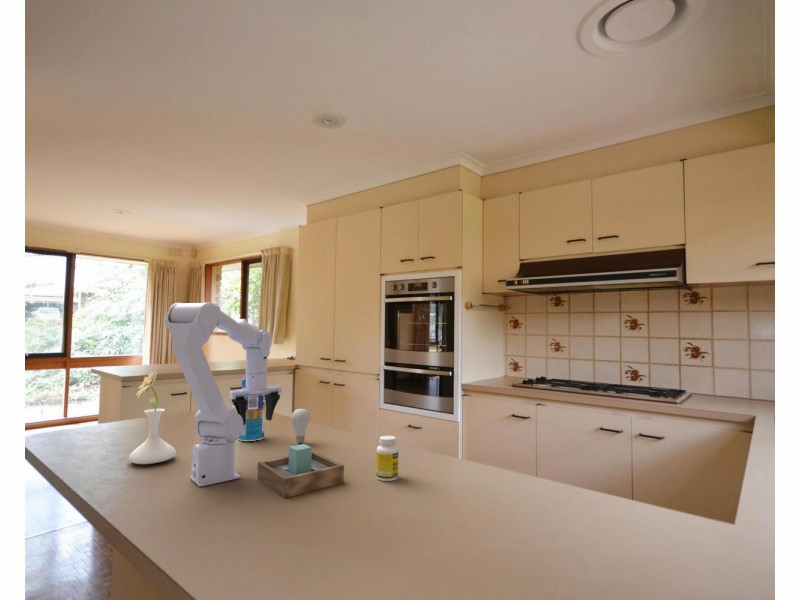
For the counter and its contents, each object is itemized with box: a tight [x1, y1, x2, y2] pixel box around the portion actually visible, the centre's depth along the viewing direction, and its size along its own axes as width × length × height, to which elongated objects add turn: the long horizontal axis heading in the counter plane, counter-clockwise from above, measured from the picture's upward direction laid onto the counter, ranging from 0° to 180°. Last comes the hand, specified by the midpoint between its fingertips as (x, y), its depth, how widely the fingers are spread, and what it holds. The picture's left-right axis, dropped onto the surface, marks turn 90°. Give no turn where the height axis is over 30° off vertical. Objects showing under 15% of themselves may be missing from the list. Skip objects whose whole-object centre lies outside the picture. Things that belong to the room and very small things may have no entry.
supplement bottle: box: [375, 435, 399, 482], centre depth 107 cm, size 5×5×10 cm
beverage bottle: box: [237, 376, 266, 441], centre depth 144 cm, size 8×8×20 cm
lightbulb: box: [290, 408, 311, 444], centre depth 138 cm, size 6×6×11 cm
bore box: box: [257, 451, 345, 499], centre depth 105 cm, size 15×15×4 cm
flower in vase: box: [128, 370, 177, 465], centre depth 120 cm, size 13×11×25 cm
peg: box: [288, 443, 313, 475], centre depth 105 cm, size 4×4×8 cm
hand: (255, 422), depth 122 cm, fingers open, 7 cm apart
